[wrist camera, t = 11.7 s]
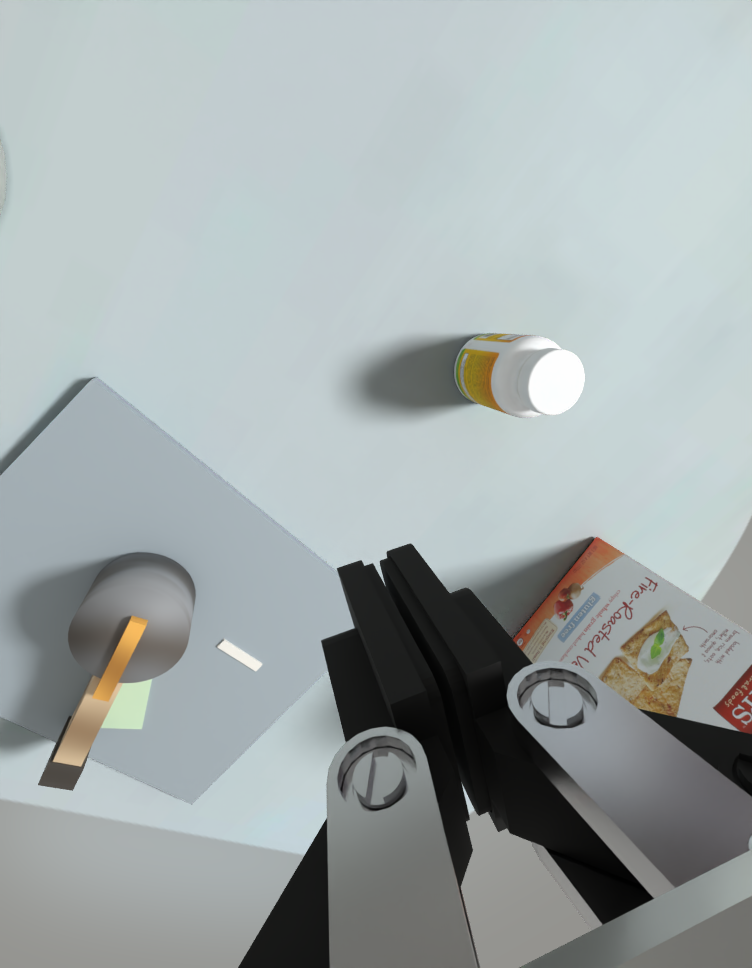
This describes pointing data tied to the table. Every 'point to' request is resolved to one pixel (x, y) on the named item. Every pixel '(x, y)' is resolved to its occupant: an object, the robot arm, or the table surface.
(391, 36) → the table surface
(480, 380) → the supplement bottle
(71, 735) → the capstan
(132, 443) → the board
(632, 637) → the cracker box
